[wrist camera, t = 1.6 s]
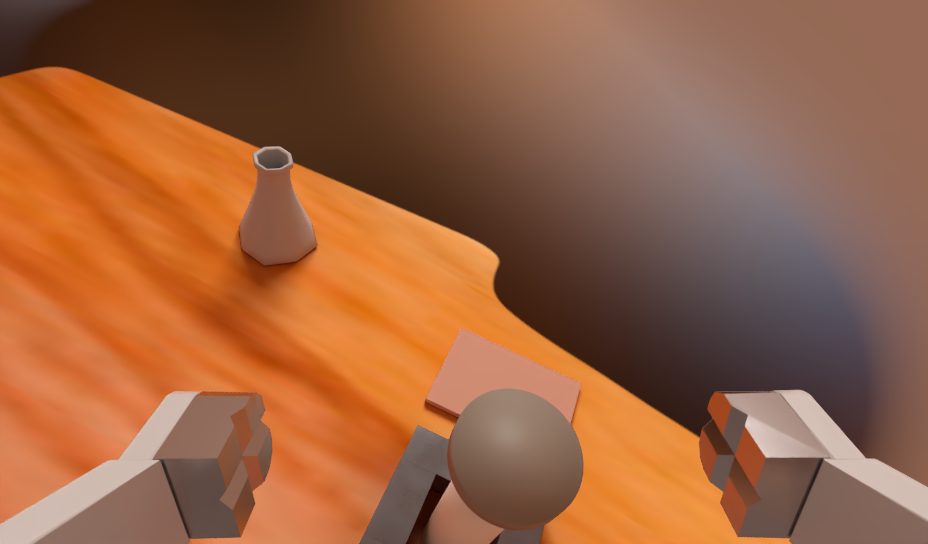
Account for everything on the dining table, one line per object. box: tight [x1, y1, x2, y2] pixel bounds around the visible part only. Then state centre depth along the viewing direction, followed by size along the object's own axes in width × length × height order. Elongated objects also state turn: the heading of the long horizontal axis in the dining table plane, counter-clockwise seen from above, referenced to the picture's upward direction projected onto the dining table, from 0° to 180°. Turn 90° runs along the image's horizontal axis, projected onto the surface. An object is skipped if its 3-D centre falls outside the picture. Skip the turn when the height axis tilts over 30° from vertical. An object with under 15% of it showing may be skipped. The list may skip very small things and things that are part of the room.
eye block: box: [359, 425, 544, 544], centre depth 37 cm, size 11×11×3 cm
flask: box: [239, 147, 317, 265], centre depth 48 cm, size 7×7×10 cm
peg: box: [421, 388, 583, 544], centre depth 31 cm, size 6×6×17 cm
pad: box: [425, 328, 581, 424], centre depth 46 cm, size 12×8×1 cm, turn 69°
